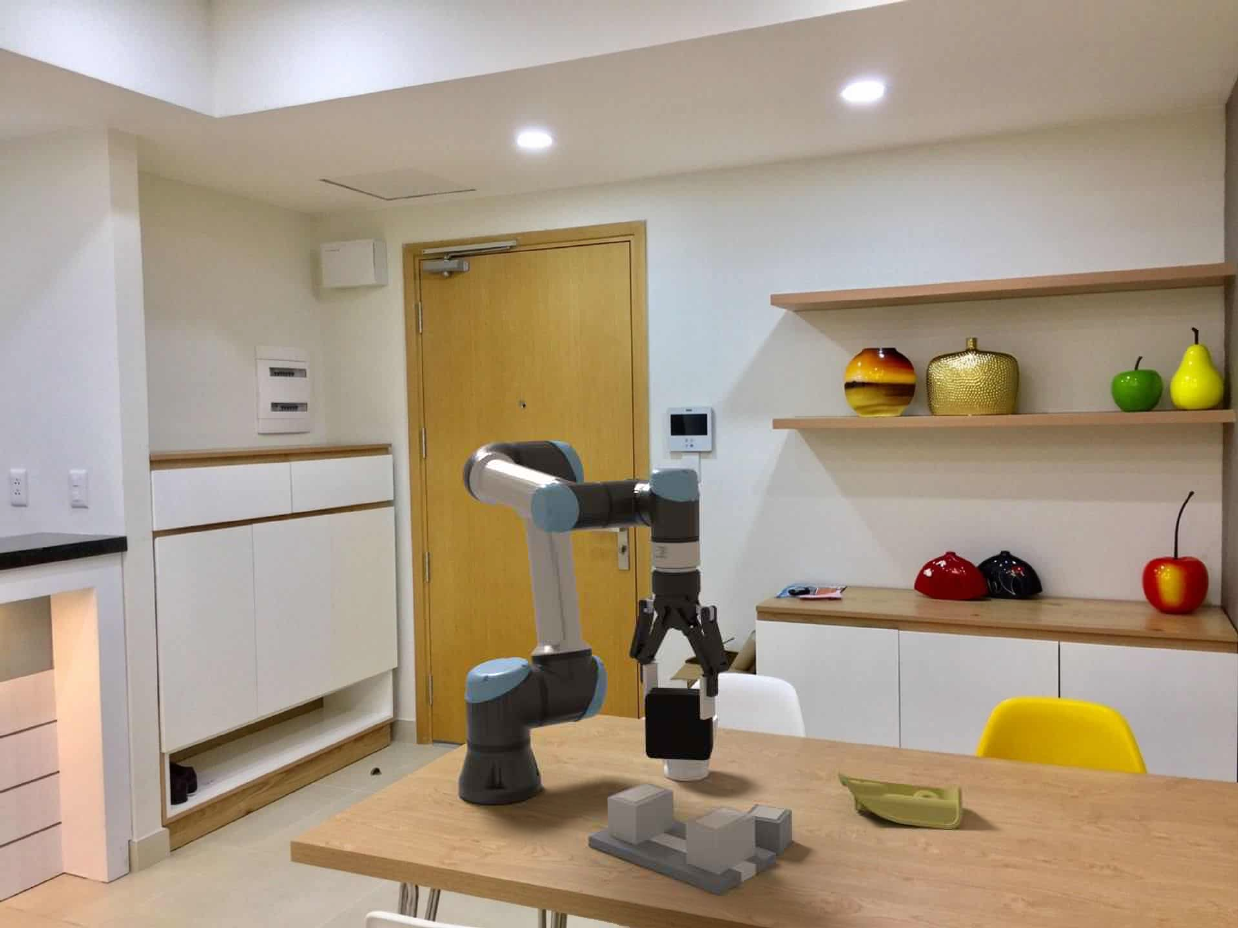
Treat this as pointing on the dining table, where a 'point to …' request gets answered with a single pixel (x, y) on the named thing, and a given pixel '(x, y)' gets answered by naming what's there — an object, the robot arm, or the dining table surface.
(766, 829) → the module
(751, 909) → the dining table surface
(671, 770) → the cup
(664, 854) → the board
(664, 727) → the electronic device
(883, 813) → the plastic component
